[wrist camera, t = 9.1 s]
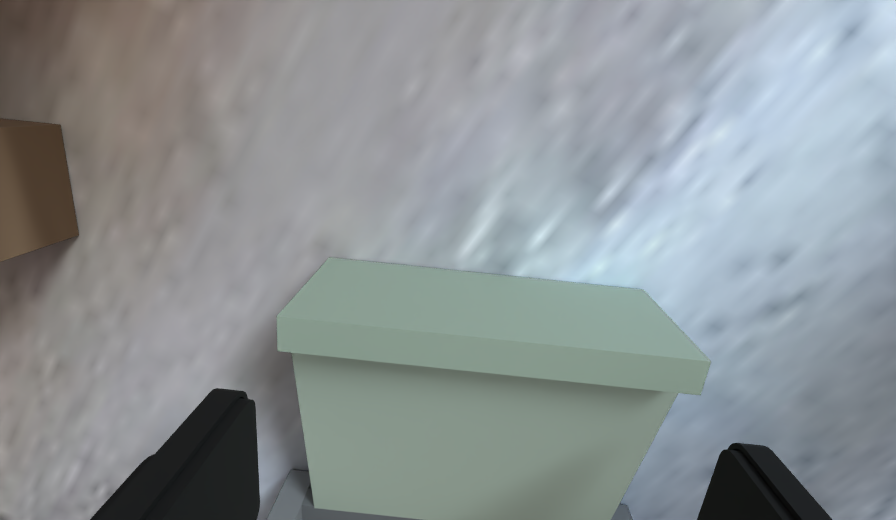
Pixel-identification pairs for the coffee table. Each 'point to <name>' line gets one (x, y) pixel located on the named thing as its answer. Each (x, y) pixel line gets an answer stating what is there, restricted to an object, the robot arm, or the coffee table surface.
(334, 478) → the ramp
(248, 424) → the robot arm
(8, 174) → the brown wooden block
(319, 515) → the lane
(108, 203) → the coffee table surface
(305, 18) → the coffee table surface
